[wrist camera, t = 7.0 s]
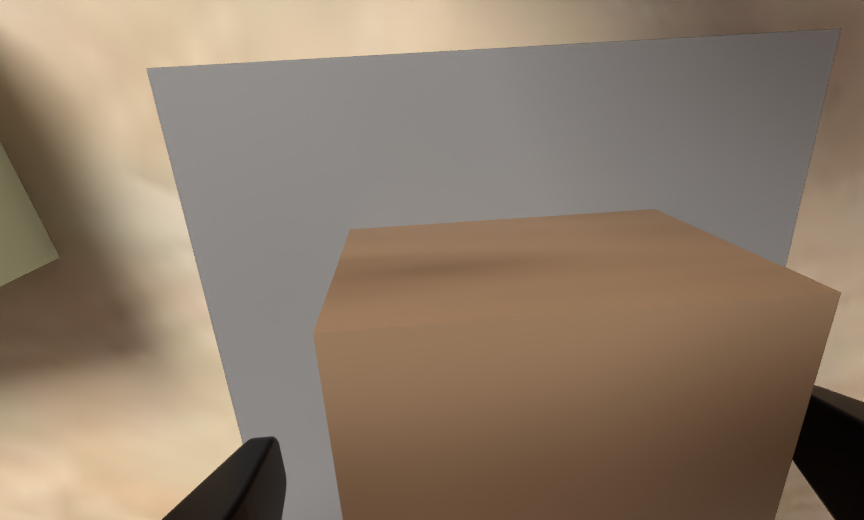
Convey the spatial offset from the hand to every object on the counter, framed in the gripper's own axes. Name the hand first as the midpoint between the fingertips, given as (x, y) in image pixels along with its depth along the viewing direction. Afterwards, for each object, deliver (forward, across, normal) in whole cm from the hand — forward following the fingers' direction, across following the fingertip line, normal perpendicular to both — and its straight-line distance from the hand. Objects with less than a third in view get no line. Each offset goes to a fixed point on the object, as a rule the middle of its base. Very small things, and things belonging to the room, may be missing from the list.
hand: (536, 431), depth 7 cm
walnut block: (+2, 0, 0) cm, 2 cm away
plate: (+4, 0, 0) cm, 4 cm away
